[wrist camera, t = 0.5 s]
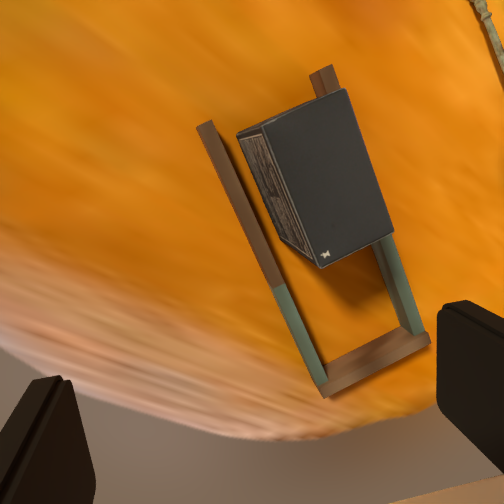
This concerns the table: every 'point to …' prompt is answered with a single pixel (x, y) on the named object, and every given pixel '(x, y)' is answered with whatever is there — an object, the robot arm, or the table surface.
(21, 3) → the table surface
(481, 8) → the soupspoon
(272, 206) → the small box
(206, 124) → the chute
